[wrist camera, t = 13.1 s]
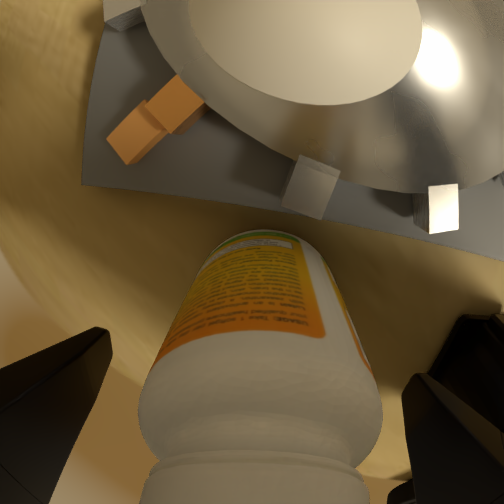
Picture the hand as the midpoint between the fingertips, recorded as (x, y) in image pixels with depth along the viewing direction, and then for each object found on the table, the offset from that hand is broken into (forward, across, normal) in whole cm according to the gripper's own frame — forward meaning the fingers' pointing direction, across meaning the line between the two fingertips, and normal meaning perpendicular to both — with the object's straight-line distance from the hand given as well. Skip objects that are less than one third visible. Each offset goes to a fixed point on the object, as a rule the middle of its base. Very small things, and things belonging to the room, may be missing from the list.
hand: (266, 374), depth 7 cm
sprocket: (+3, -2, -14) cm, 15 cm away
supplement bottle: (+5, 0, 0) cm, 5 cm away
